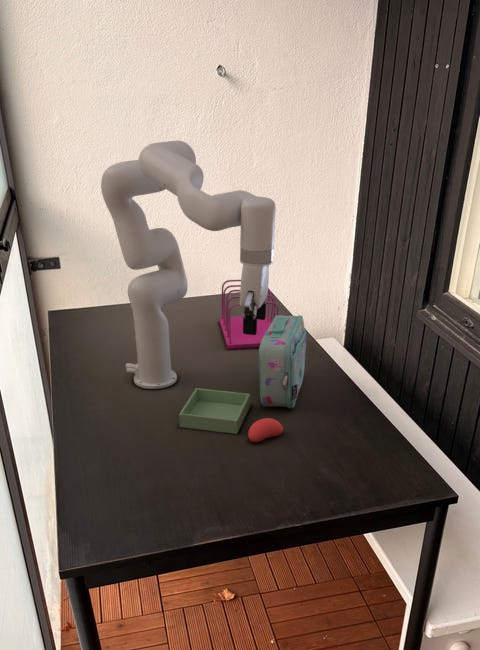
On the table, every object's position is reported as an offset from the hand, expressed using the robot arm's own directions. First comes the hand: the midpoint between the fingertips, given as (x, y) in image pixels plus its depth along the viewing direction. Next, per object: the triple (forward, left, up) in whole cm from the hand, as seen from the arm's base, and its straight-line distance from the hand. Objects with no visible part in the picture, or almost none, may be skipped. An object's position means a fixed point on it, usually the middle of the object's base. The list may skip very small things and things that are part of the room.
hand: (254, 326), depth 154 cm
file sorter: (-15, +60, -27) cm, 67 cm away
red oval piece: (+4, -6, -27) cm, 28 cm away
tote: (-10, +2, -27) cm, 29 cm away
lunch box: (+4, +19, -27) cm, 33 cm away
